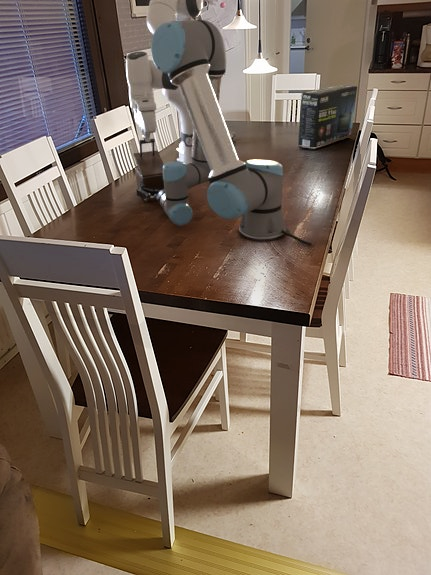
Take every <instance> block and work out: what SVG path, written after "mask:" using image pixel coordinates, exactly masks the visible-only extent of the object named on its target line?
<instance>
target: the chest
mask: <svg viewBox="0 0 431 575" xmlns="http://www.w3.org/2000/svg"><path fill="white" fill-rule="evenodd" d="M134 171H135V180H136V189H138V188H139V186H140V181H142V182H143V184H144V185H145V186H146V188H148V189H152V190H155V189H157V190H162V189H164V180H163V175H157V176H150V177H142V175H141V173H140V170H139V168H138V167H134ZM143 201H144V202H145V203H148V202H147V200H145V199H143ZM151 202H156V201H155V200H151Z"/></svg>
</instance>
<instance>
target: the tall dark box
mask: <svg viewBox="0 0 431 575" xmlns="http://www.w3.org/2000/svg"><path fill="white" fill-rule="evenodd" d="M155 143H156V141H155V138H150V141H149V142H146V141H145V140H144V139H139V140H138V144H139V152H135V153H134V152H133V154H132V155H133V158H134V160H135V163H136V165H137V168H139V170H140V173H141V175H142V177H150V176H157V175H163V166H164V164H165V163H164V161H163V159H162V157H161V155H160V153H159V150H156V149H155ZM144 144H145V145H146V144H151V150H149V151H143V145H144Z"/></svg>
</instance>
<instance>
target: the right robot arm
mask: <svg viewBox="0 0 431 575" xmlns="http://www.w3.org/2000/svg"><path fill="white" fill-rule="evenodd" d="M151 38H152V40H151V42H150V53H151V60H153V62H154V64H155V66H156V67H157V68H158V69H159V70H160V71H161V72H164V73H168V76H169V78H170V81H171V83H172V84H174V85H176V86H178V87H179V89H180V92H181V94H182V97H183V100H184V102H185V105H186V107H187V110H188V113H189V115H190V118H191V121H192V123H193V140H192V156H191V163H189V164H187V165H186V164H185V163H184V162H181V161H177V160H173V161H168V162H166V163H164V166H163V180H164V189H162V190H157V189H155V190H152V189H148V188H146V186H145V185H144V184H143V182H142V181H140V186H139V188H136V195H137V197H139V198H141V199H143V200H144V199H145V200H147V202H146V203H151V202H152V201H151V200H155V201H154V202H157V204H158V205H159V207H160V208H161V209H162V211H163V212H164V213H165V214H166V215H167V217H168V218H169V220H170V221H171V222H172V223H173V224H174V225H176V226H179V227H181V226H185V225H187V224H189V223H190V222H191V221H192V219H193V214H194V212H193V209H192V207H191V206H190V204H189V203H190V202H189V189H192V188H193V187H197V186H199V185H201V184H203V183H207V182H209V186H208V188H207V193H206V200H207V203H208V206H209V207H210V209H211V210H212V211H213V213H214V214H215V215H217V217H220V218H222V219H224V220H227V221H231V220H236V219H238V218H241V220H240V222H239V226H238V232H239V235H240V236H241V237H242V238H244V239H247V240H250V241H254V242H271V241H277V240H279V239H281V238H283V237H285V235H286V236H288V237H290V238H292V239H293V240H296V241H297V242H299V243H302V244H304V245H307V246H310V247H311V246H312V245H313V242H310V241H308V240H307V241H306V240H304V239H302V238H299V237H298V236H296V235H294V234H292V233H290V232H288V231H287V223H286V221H285V216H284V214H283V210H282V200H283V183H284V169H283V165H282V164H281V163H280V162H278V161H275V160H270V159H249V160H246V161H243V160H241V159H239V157H238V154H237V151H236V148H235V146H234V143H233V139H232V140H231V137H230V134H229V132H228V131H229V129H228V127H227V124H226V121H225V119H224V116H223V113H222V109H221V107H220V98H221V96H220V95H221V86H222V78H223V77H224V76H225V75H226V70H227V50H226V49H227V48H226V44H225V40H224V37H223V35H222V33H221V31H220V30H219V28H218V27H217V26H216V25H215V24H214V23H212V22H211V21H208V20H206V19H197V20H193V21H171V22H167V23H163V24H161V25H160V26H159V27H158V28H157V29H156V31H155V32H154V35H153V34H152V37H151ZM145 200H144V201H145Z"/></svg>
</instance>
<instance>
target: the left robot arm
mask: <svg viewBox="0 0 431 575" xmlns="http://www.w3.org/2000/svg"><path fill="white" fill-rule="evenodd" d="M203 7H204V0H149V4H148V7H147V11H146V12H147V13H146V17H145V18H146V26H147V28H148V30H149V32H150V34H152V36H153V35H154V32H155V31H156V29H157V28H158V27H159V26H160V25H161V24H163V23H167V22H171V21H193V20H198V18H199V16H200V15H201V13H202V11H203ZM125 72H126V80H127V84H128V87H129V89H128V98H129V104H130V108H131V109H133V114H134V116H133V117H134V122H135V124H136V126H138V127H139V128H140V131H141V135H142V140H145V141H146V142H149V141H150V139H151V134H154V133H156V131H157V115H156V110H157V104H156V101H155V94H154V90H160V89H161V92H162V94H163V97H164V98H165V99H166V100H167V101H168V102H170V103H171V104H172V105H173V106H174V107H175V109H176V111H177V112H178V115H179V120H180V129H181V130H180V140H181V141H180V143H178V147H177V148H176V151H178V157H177V158H176V161H181V162H184V163H185V164H186V165H187V164H189V163H191V156H192V140H193V123H192V121H191V118H190V115H189V113H188V110H187V107H186V105H185V102H184V100H183V97H182V94H181V92H180V89H179V87H178V86H176V85H174V84H172V83H171V81H170V78H169V76H168V73H164V72H161V71H160V70H159V69H158V68H157V67H156V66H155V64H154V62H153V59H150V58H149V55H148V53H147V52H145V51H134V52H130V53H128V55H126V59H125Z"/></svg>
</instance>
